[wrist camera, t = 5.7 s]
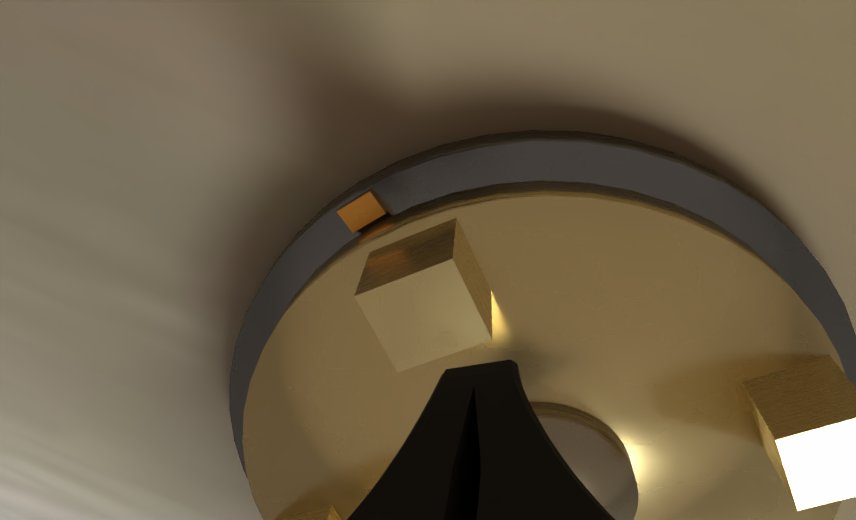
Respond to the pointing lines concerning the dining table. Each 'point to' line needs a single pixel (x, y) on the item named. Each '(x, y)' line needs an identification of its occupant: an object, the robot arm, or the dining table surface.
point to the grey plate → (521, 163)
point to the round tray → (560, 357)
